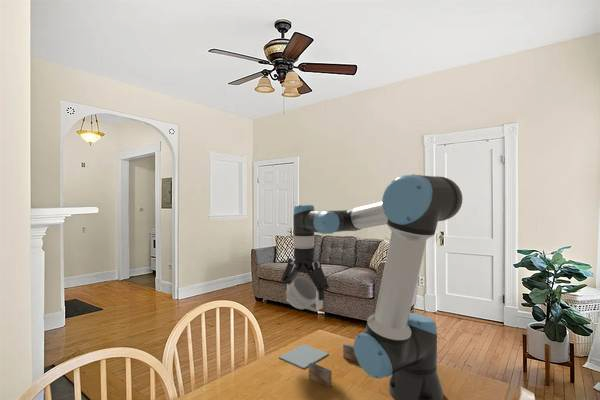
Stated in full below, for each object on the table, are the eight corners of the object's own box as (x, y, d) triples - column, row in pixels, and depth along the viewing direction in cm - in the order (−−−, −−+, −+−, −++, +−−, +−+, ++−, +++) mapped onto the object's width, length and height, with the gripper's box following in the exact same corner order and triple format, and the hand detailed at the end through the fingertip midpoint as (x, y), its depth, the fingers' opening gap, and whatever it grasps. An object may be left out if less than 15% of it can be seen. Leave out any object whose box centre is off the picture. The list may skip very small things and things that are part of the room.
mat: (328, 354, 124) (328, 353, 124) (303, 369, 114) (303, 367, 114) (304, 345, 132) (304, 344, 132) (278, 358, 122) (278, 356, 122)
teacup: (277, 291, 123) (289, 278, 119) (295, 284, 131) (307, 272, 128) (298, 324, 117) (312, 312, 113) (316, 315, 126) (329, 303, 122)
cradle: (364, 362, 118) (364, 349, 118) (328, 387, 102) (328, 372, 102) (345, 355, 123) (345, 343, 123) (308, 378, 108) (308, 364, 108)
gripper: (338, 249, 117) (338, 309, 117) (286, 243, 134) (286, 295, 134) (325, 251, 112) (325, 315, 112) (272, 245, 128) (272, 300, 128)
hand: (304, 305), depth 123 cm, fingers closed on teacup, 13 cm apart
